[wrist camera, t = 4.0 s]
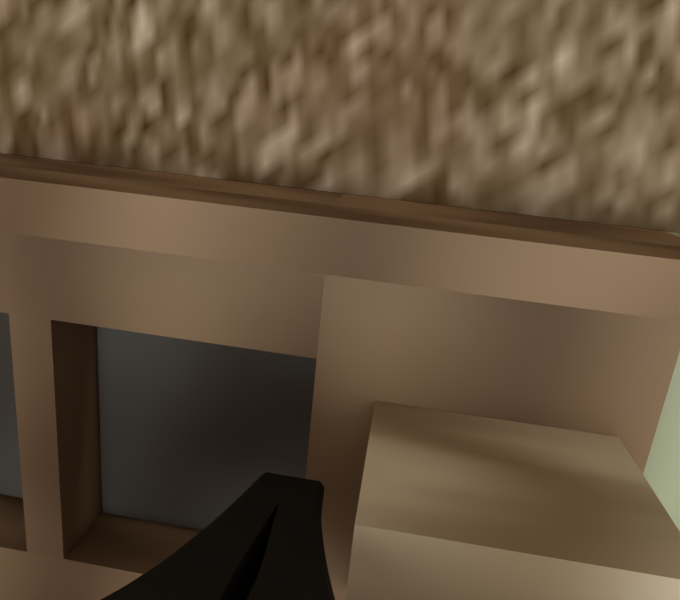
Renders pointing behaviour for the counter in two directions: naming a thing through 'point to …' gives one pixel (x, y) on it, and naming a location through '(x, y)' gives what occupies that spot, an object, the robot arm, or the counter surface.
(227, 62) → the counter surface
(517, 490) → the birch block
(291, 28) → the counter surface
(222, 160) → the counter surface
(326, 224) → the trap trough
